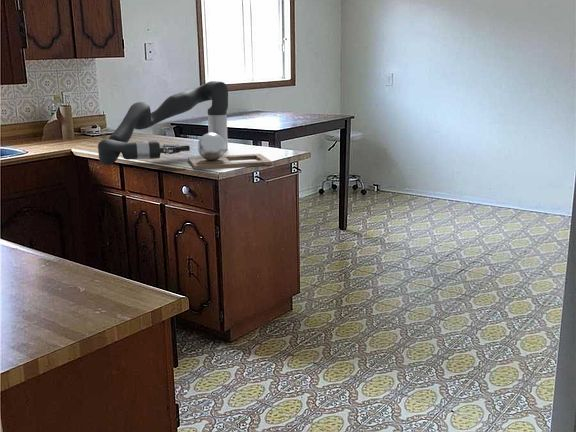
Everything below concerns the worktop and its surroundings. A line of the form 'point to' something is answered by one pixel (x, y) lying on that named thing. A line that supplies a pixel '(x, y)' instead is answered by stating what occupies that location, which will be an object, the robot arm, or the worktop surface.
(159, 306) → the worktop surface
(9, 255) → the worktop surface
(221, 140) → the ball
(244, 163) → the wooden tray
